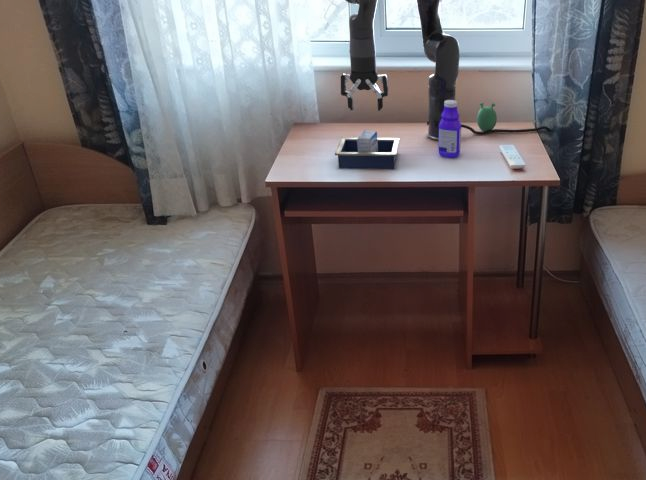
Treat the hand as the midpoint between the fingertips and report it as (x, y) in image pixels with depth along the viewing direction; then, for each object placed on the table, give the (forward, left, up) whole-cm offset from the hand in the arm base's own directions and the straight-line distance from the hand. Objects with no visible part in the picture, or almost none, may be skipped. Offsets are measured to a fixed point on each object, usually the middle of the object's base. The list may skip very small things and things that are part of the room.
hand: (365, 109), depth 205 cm
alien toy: (-39, -32, -16) cm, 53 cm away
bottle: (-26, -6, -16) cm, 31 cm away
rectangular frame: (0, 0, -16) cm, 16 cm away
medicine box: (0, 0, -17) cm, 17 cm away
